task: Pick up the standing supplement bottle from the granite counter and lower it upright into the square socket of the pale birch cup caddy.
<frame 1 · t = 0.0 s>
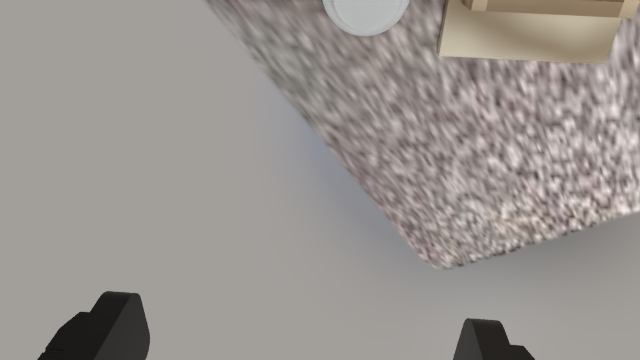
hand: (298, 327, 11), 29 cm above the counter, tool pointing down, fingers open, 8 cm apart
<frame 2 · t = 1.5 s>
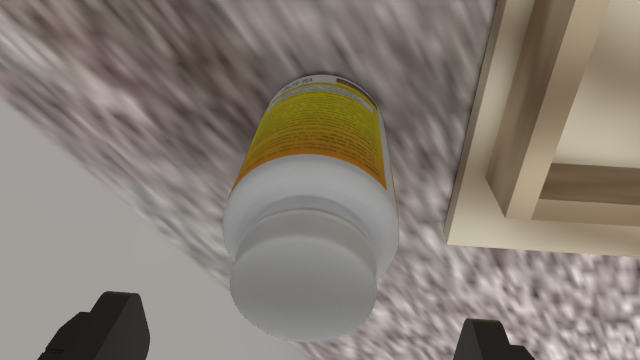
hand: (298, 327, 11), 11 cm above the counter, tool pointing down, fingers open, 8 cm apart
supplement bottle: (323, 127, 20), on the counter
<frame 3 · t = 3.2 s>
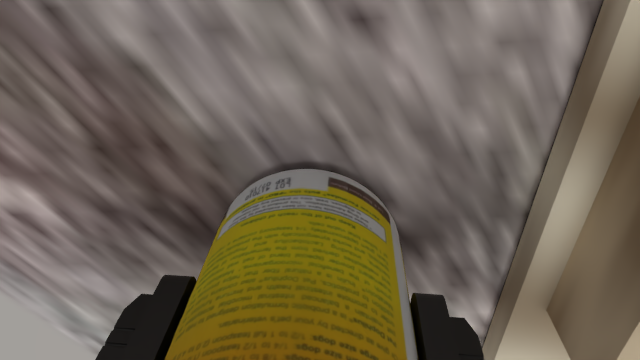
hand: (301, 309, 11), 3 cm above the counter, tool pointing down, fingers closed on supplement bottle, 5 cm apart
supplement bottle: (311, 232, 14), on the counter, touching gripper
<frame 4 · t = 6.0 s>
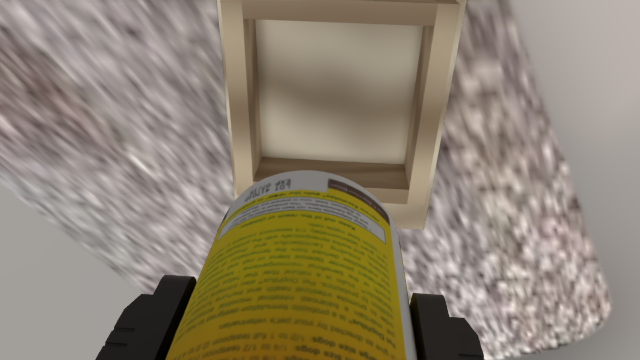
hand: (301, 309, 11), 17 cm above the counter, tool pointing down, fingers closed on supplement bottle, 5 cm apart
cup caddy: (336, 86, 26), on the counter
supplement bottle: (311, 233, 14), point 14 cm above the counter, touching gripper
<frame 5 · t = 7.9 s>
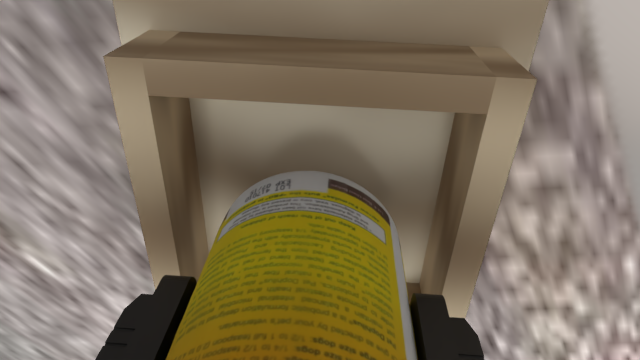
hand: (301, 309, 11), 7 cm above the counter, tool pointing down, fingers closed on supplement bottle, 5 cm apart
cup caddy: (319, 174, 17), on the counter
supplement bottle: (311, 233, 14), point 4 cm above the counter, touching gripper
when the fingers open (5 cm above the counter, at t = 9.2 s): supplement bottle drops 1 cm, resting on cup caddy.
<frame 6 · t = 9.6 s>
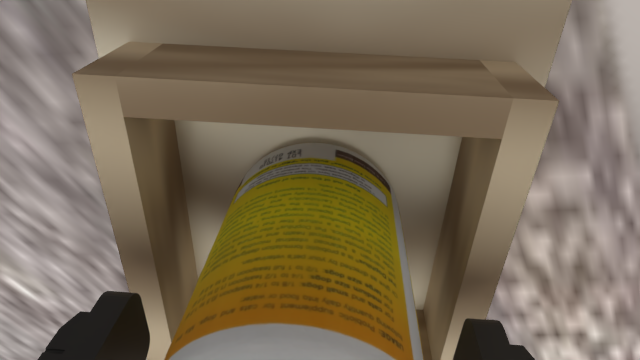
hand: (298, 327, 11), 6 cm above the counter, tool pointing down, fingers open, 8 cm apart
cup caddy: (315, 194, 16), on the counter
supplement bottle: (317, 205, 15), point 1 cm above the counter, touching cup caddy
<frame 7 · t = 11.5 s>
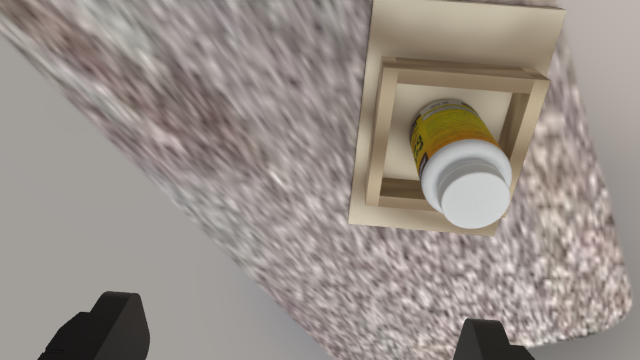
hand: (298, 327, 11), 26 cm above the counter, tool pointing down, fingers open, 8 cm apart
cup caddy: (439, 127, 35), on the counter
supplement bottle: (443, 130, 34), point 1 cm above the counter, touching cup caddy
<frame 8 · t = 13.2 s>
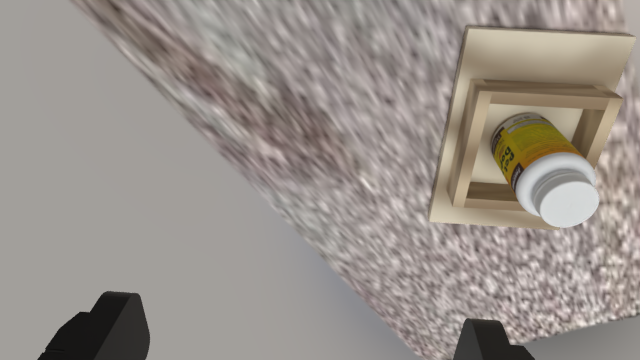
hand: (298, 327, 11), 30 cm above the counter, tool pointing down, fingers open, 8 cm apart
cup caddy: (515, 136, 40), on the counter
supplement bottle: (520, 139, 39), point 1 cm above the counter, touching cup caddy
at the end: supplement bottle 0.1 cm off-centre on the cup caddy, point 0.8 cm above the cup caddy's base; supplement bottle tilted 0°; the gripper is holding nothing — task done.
